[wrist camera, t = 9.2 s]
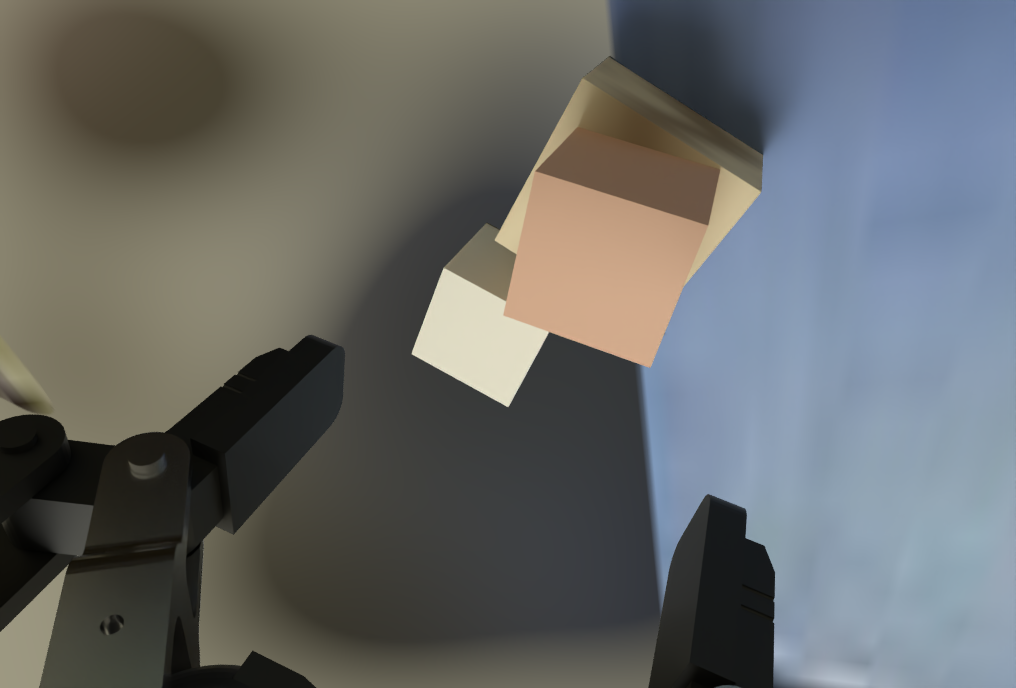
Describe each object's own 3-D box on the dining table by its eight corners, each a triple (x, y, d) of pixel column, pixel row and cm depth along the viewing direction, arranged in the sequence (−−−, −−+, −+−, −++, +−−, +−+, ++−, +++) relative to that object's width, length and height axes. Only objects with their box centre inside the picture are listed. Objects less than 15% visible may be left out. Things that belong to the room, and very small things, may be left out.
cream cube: (581, 272, 30) (551, 326, 26) (539, 348, 33) (508, 406, 29) (486, 222, 30) (443, 267, 26) (454, 302, 33) (411, 353, 29)
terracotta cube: (720, 169, 21) (708, 225, 17) (670, 295, 24) (650, 367, 20) (577, 127, 22) (534, 171, 18) (545, 253, 25) (503, 315, 21)
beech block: (763, 153, 25) (761, 191, 21) (659, 284, 29) (643, 335, 26) (610, 55, 25) (582, 77, 21) (528, 201, 29) (494, 240, 26)
